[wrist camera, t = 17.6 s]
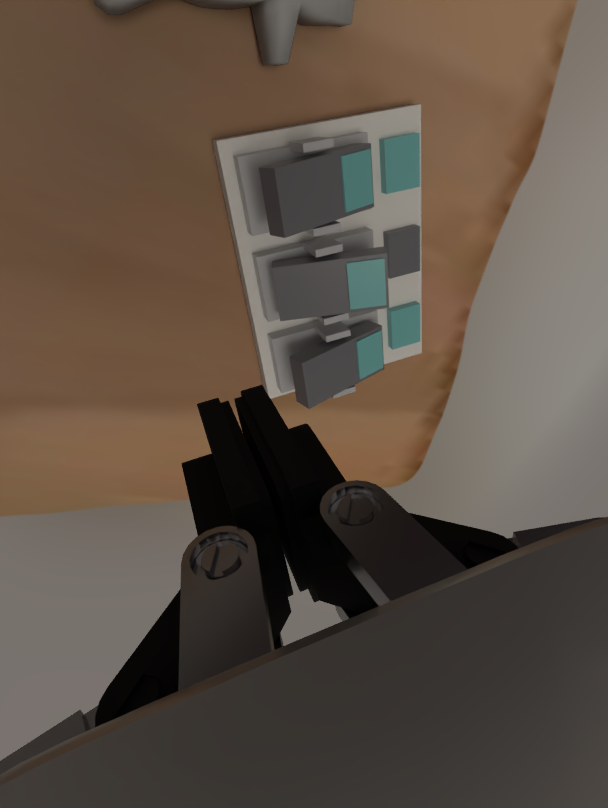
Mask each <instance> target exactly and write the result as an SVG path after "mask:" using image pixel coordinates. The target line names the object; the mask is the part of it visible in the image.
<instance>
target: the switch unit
mask: <svg viewBox="0 0 608 808" xmlns="http://www.w3.org/2000/svg"><path fill="white" fill-rule="evenodd" d="M212 142H213V147H214V152H215V157H216V161H217V166H218V171H219V176H220V180H221V185H222V190H223V195H224V199H225V204H226V209H227V214H228V219H229V223H230V228H231V233H232V238H233V242H234V247H235V252H236V257H237V262H238V266H239V271H240V276H241V281H242V285H243V290H244V295H245V300H246V304H247V309H248V314H249V319H250V324H251V328H252V333H253V338H254V343H255V347H256V352H257V357H258V362H259V367H260V371H261V376H262V381H263V386H264V389H265V390H266V392H267V394H268V396H269V397H270V399H271V398H274V397H278V396H281V395H284V394H288V393H291V392H294V391H295V387H294V381H293V376H292V370H291V364H290V358H289V357H290V356H292V355H294V354H296V353H298V352H301V351H303V350H305V349H307V348H309V347H311V346H314V345H316V344H318V343H320V342H322V341H324V340H325V341H326V342H330V341H333V340H337V339H340V338H344V337H347V336H351V334H350V329H351V328H353V327H355V326H357V325H359V324H361V323H364V322H366V321H368V320H369V321H371V322H374V323H377V324H379V325H382V337H383V356H384V364H387V363H390V362H393V361H397V360H400V359H403V358H406V357H410V356H413V355H416V354H420V353H422V310H421V104H410V105H405V106H399V107H393V108H388V109H382V110H377V111H371V112H366V113H360V114H354V115H349V116H343V117H338V118H332V119H327V120H321V121H315V122H310V123H304V124H299V125H293V126H288V127H282V128H276V129H271V130H265V131H260V132H254V133H249V134H243V135H237V136H232V137H226V138H221V139H215V140H212ZM354 143H371V155H372V174H373V193H374V207H372V208H370V209H367V210H364V211H361V212H358V213H355V214H352V215H349V216H347V217H344V218H341V219H338V220H335V221H332V222H329V223H327V224H324V225H321V226H318V227H315V228H312V229H309V230H306V231H304V232H301V233H298V234H295V235H292V236H289V237H286V238H282V237H277V236H272V235H270V233H269V227H268V221H267V215H266V209H265V203H264V197H263V191H262V185H261V179H260V173H259V167H263V166H267V165H271V164H275V163H279V162H283V161H286V160H290V159H294V158H298V157H302V156H306V155H310V154H314V153H318V152H322V151H326V150H330V149H334V148H338V147H342V146H346V145H350V144H354ZM383 246H384V248H385V250H386V252H387V266H388V290H389V308H385V309H377V310H368V311H360V312H352V313H344V314H336V315H328V316H319V317H311V318H303V319H295V320H287V321H280V316H279V310H278V305H277V299H276V293H275V287H274V282H273V276H272V270H271V267H272V262H273V261H278V260H285V259H293V258H300V257H308V256H315V257H316V258H317V257H321V256H325V255H329V254H333V253H338V252H346V251H353V250H361V249H368V248H376V247H383ZM353 392H356V389H355V386H354V385H353V386H351V387H349V388H347V389H345V390H343V391H342V392H340V393H338V394H336V395H334V396H332V397H333V398H337V397H340V396H343V395H346V394H350V393H353Z"/></svg>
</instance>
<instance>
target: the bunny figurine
mask: <svg viewBox="0 0 608 808" xmlns="http://www.w3.org/2000/svg"><path fill="white" fill-rule="evenodd" d="M150 1H153V0H94V2H95V5H96V6H98V7H99V8H100V9H101V10H103V11H104V12H105V13H106V14H109V15H122V14H124V13H126V12H128V11H131V10H133V9H135V8H137V7H139V6H142V5H144V4H146V3H148V2H150ZM184 1H185V2H188V3H191V4H194V5H197V6H200V7H205V8H213V9H238V8H245V7H251V11H252V16H253V20H254V25H255V30H256V34H257V39H258V44H259V48H260V53H261V58H262V62H263V65H273V66H277V65H283V64H288V61H289V56H290V52H291V47H292V42H293V38H294V33H295V28H296V24H298V25H303V26H326V25H332V26H337V27H341V26H345V25H349V24H351V23H352V16H353V8H354V0H184Z"/></svg>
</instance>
